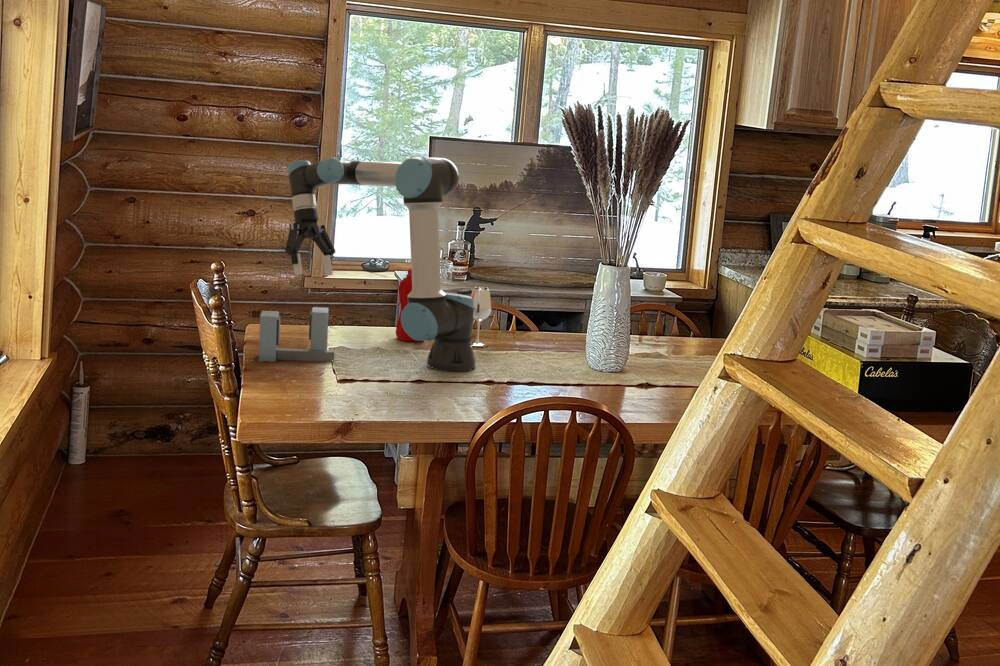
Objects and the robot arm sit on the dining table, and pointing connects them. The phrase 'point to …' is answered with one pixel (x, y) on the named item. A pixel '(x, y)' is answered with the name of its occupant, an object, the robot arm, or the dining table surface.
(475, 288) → the wineglass
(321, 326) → the tall grey-blue pillar
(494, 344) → the dining table surface
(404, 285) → the water bottle
